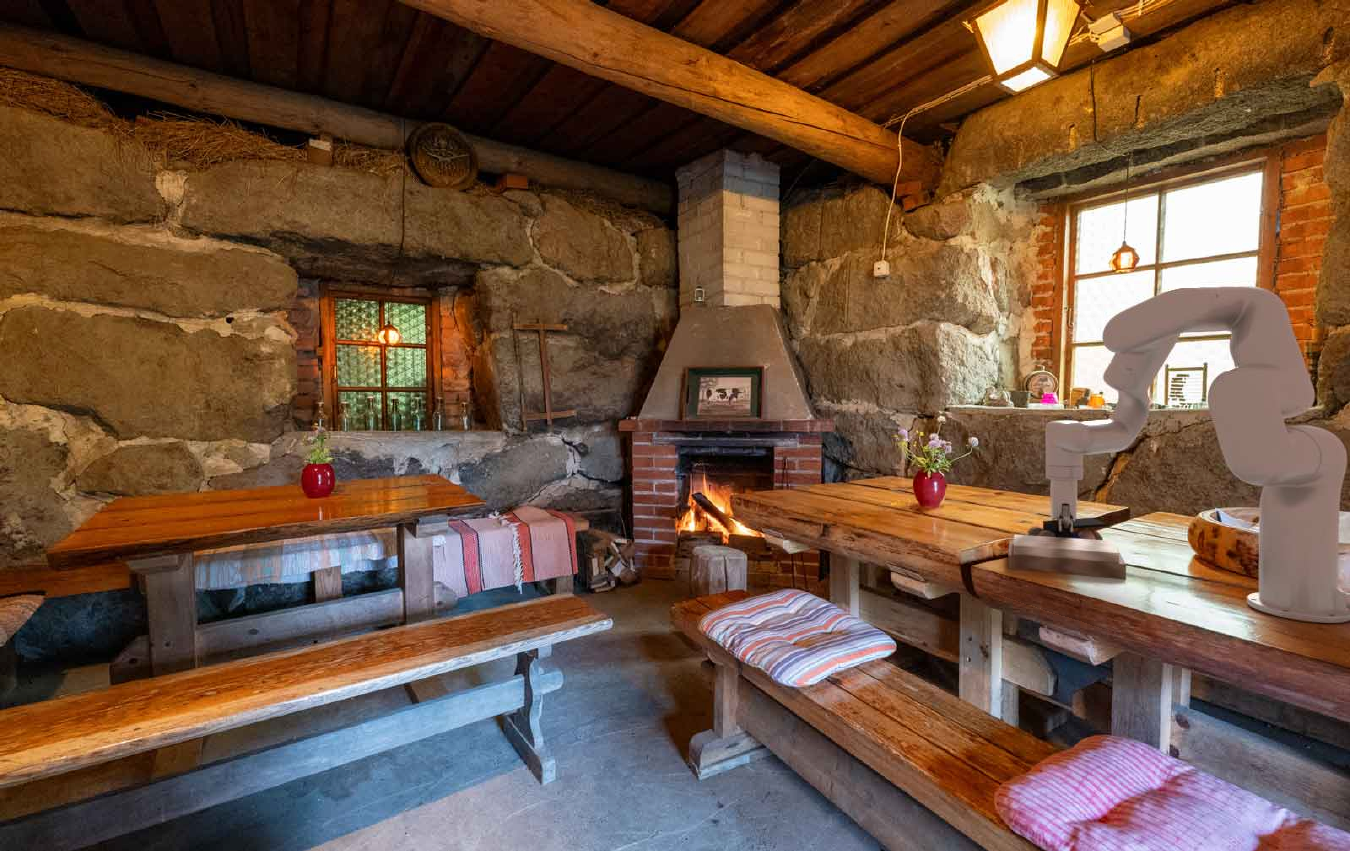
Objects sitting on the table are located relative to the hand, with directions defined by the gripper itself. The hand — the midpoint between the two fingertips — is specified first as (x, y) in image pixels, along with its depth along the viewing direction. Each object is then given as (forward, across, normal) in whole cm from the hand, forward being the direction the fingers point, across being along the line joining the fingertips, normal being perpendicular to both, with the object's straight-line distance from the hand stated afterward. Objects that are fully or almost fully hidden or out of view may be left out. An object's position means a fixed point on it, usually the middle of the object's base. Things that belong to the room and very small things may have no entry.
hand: (1064, 544), depth 148 cm
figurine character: (+2, 0, 0) cm, 2 cm away
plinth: (+2, +14, -1) cm, 14 cm away
